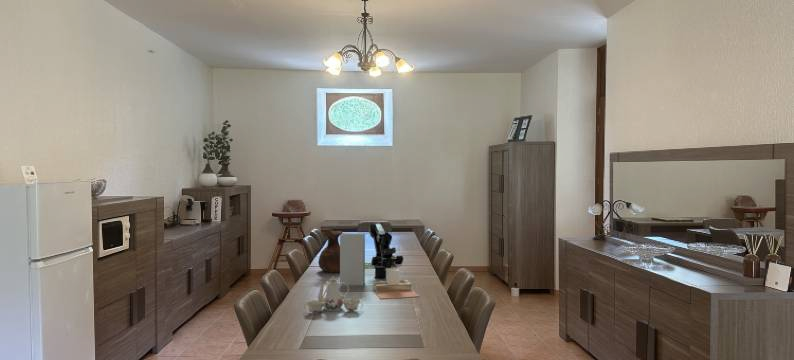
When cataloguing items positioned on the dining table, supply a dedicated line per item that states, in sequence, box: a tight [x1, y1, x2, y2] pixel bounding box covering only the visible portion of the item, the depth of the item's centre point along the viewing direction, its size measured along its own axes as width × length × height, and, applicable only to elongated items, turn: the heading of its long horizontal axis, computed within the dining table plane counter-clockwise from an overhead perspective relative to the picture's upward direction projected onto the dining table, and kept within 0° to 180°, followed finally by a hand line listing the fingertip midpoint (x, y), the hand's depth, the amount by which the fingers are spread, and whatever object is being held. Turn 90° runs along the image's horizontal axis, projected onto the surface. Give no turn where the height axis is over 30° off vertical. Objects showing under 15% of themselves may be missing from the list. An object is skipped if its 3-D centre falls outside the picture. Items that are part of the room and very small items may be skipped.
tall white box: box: [339, 233, 366, 286], centre depth 304 cm, size 14×6×30 cm, turn 84°
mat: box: [375, 289, 420, 300], centre depth 278 cm, size 13×22×1 cm, turn 104°
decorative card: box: [365, 255, 403, 270], centre depth 359 cm, size 33×8×20 cm
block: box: [385, 267, 400, 285], centre depth 289 cm, size 7×6×8 cm
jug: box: [317, 228, 344, 274], centre depth 340 cm, size 22×22×30 cm
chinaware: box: [304, 276, 363, 315], centre depth 248 cm, size 28×17×17 cm, turn 105°
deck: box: [372, 279, 412, 292], centre depth 291 cm, size 11×20×4 cm, turn 104°
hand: (389, 272), depth 297 cm, fingers closed
